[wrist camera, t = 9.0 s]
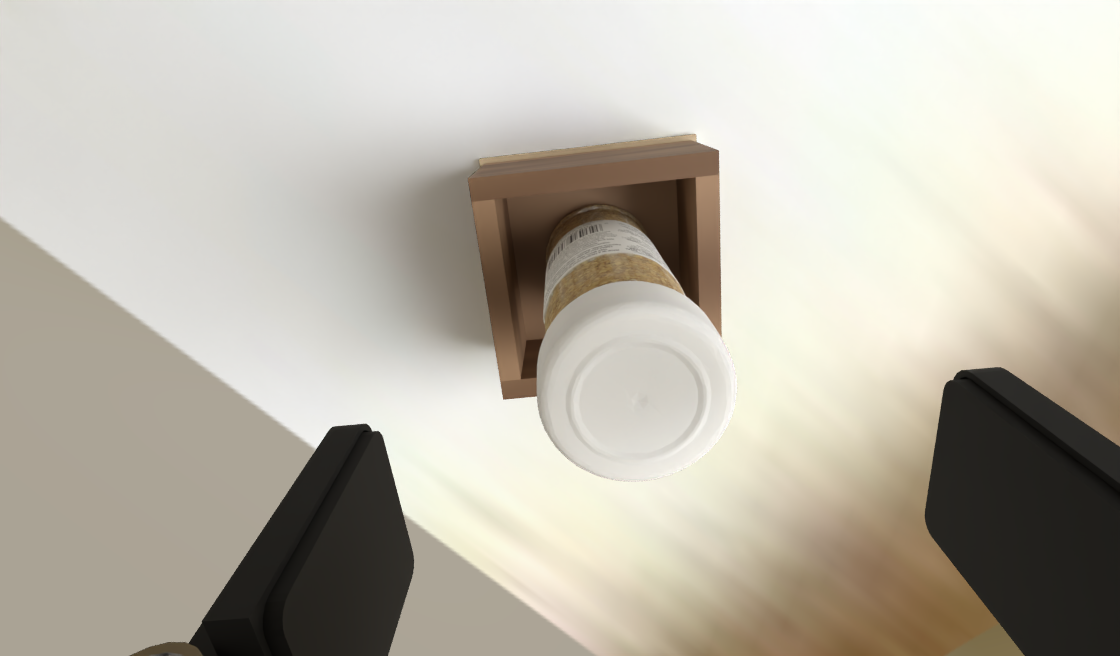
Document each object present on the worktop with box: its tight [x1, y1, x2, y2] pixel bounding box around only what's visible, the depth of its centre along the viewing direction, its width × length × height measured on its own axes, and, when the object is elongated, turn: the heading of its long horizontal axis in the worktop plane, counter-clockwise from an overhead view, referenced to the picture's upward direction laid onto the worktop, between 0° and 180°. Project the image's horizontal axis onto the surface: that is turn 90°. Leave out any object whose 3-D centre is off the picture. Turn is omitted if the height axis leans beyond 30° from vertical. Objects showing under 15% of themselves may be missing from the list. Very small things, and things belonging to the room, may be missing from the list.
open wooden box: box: [468, 134, 722, 399], centre depth 25 cm, size 9×9×5 cm
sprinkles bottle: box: [537, 204, 737, 481], centre depth 20 cm, size 5×5×14 cm
